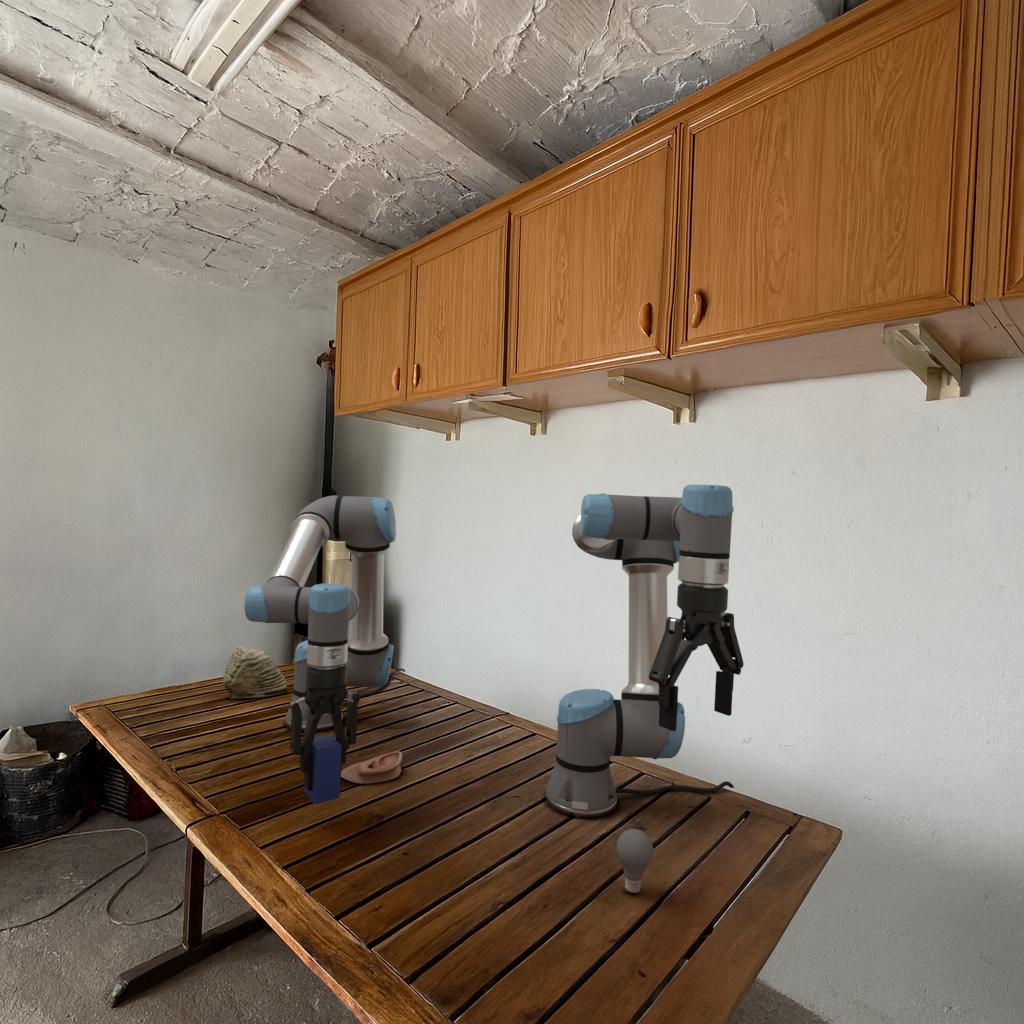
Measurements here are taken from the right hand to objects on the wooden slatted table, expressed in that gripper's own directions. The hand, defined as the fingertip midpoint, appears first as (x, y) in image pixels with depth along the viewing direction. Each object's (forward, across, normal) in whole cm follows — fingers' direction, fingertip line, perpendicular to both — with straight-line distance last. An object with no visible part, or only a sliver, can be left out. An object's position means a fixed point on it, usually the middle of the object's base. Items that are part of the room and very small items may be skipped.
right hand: (696, 720), depth 99 cm
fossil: (+31, -28, +144) cm, 150 cm away
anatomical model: (+31, -21, +73) cm, 82 cm away
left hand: (+24, -38, +57) cm, 73 cm away
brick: (+26, -38, +57) cm, 73 cm away
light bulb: (+31, -2, +10) cm, 33 cm away
